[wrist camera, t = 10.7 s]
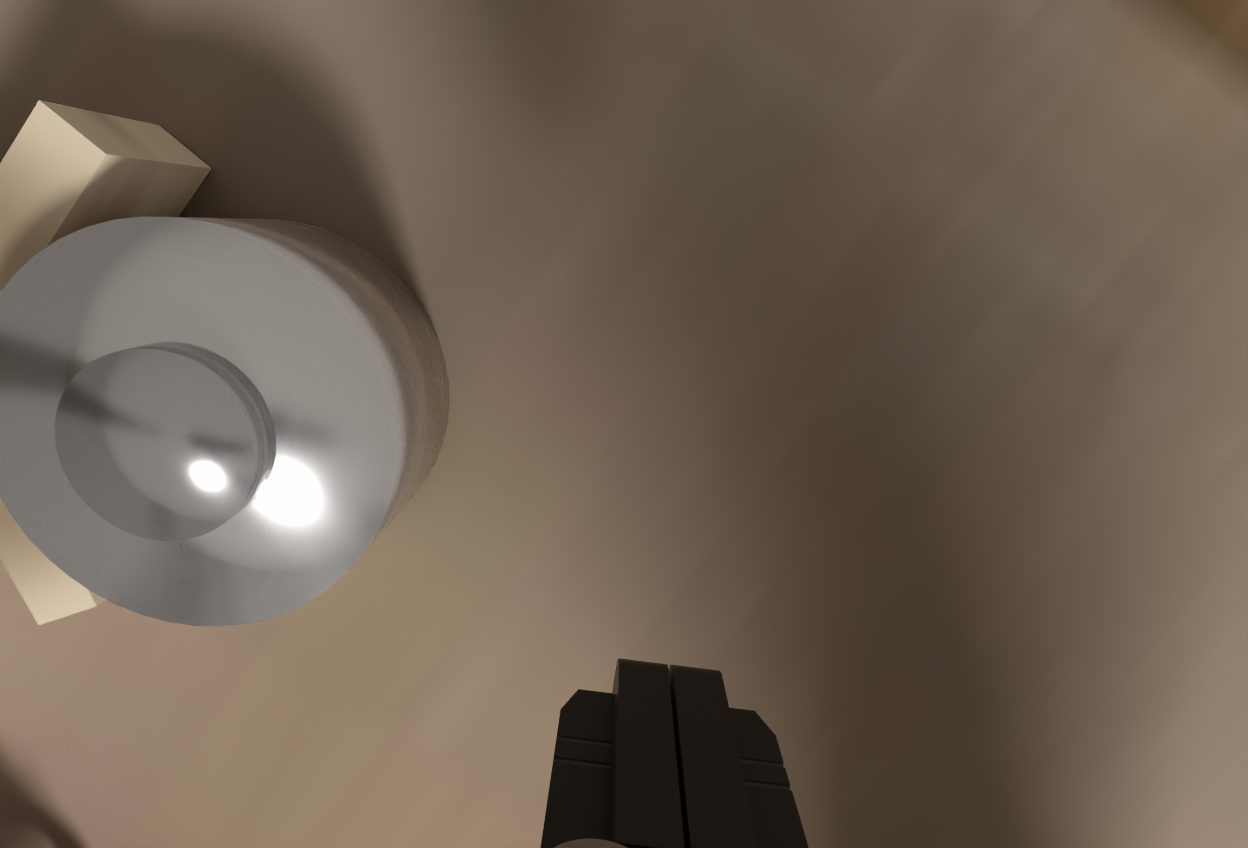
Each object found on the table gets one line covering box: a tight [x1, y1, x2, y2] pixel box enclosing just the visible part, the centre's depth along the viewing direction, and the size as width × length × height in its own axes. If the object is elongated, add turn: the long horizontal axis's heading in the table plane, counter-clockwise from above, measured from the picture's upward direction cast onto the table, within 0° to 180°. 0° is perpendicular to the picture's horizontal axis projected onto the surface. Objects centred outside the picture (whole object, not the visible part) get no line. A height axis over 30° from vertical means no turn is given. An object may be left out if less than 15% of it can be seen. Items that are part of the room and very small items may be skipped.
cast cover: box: [0, 217, 449, 626], centre depth 18 cm, size 9×9×6 cm
